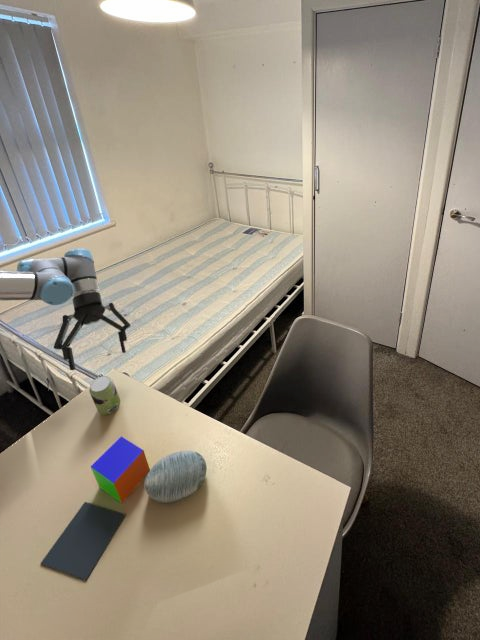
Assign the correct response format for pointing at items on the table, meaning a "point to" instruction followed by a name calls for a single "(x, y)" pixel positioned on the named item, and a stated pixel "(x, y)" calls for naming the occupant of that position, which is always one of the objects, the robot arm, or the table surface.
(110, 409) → the beverage can
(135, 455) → the cube
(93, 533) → the pad
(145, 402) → the table surface
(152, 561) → the table surface
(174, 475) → the grey yarn skein
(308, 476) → the table surface
